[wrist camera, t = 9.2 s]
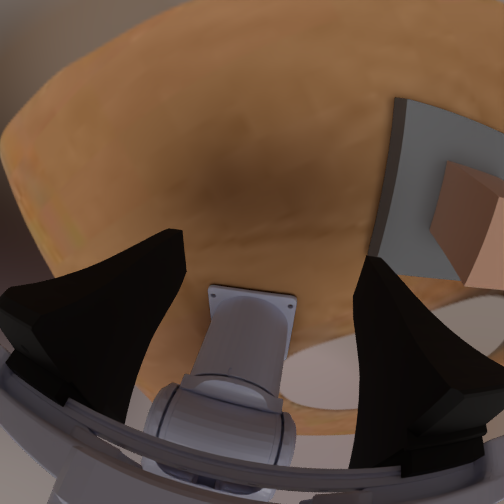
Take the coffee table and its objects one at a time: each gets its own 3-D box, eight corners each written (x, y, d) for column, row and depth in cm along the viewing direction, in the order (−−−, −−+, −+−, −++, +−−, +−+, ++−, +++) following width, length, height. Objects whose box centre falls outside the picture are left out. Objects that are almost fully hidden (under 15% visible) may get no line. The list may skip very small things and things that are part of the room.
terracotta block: (480, 240, 15) (518, 291, 10) (429, 230, 16) (464, 286, 11) (499, 178, 12) (550, 216, 8) (447, 160, 13) (499, 196, 8)
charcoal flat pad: (477, 263, 19) (490, 283, 17) (366, 249, 21) (372, 271, 19) (514, 140, 13) (535, 150, 10) (392, 97, 14) (407, 98, 12)
